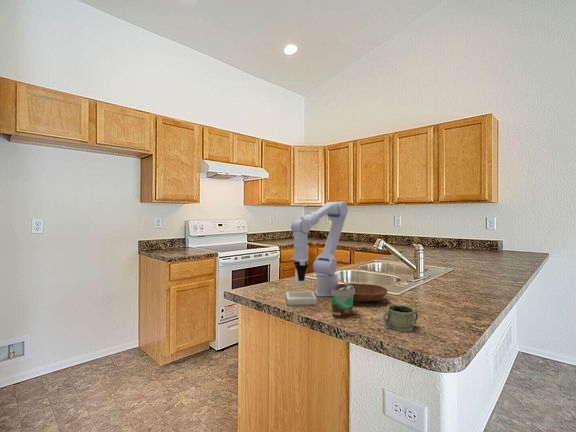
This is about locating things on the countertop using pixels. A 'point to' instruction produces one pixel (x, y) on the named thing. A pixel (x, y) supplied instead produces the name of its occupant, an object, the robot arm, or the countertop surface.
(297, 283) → the shaker
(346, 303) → the food container
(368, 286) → the bowl
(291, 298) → the tray
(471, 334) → the countertop surface
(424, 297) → the countertop surface
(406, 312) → the vessel
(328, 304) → the countertop surface
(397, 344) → the countertop surface
